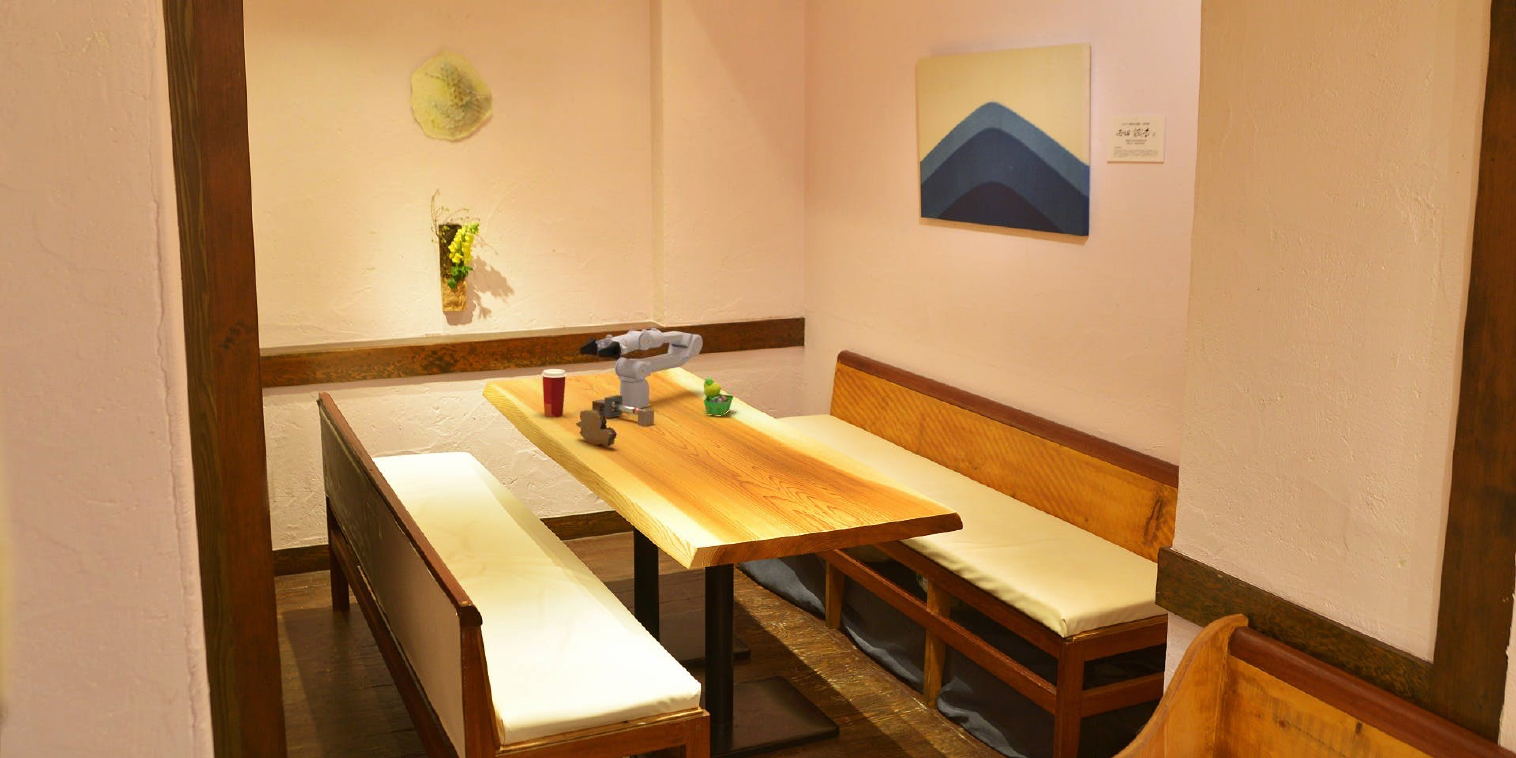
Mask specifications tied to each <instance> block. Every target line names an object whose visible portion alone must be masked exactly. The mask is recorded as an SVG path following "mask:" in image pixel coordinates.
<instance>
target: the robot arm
mask: <svg viewBox="0 0 1516 758" xmlns="http://www.w3.org/2000/svg"><path fill="white" fill-rule="evenodd" d="M703 343H704V342H703V338H702V336H701V335H700V334H697V333H695V334H694V333H693V334H692V333H687V332H682V331H677V330H676V331H675V330H673V331H666V332H662V331H660V330H659V329H657V328H654V327H652V328H651V329H649V330H647V329H642V330H641V331H639V330H632V329H630V330H629V331H628V332H627V333H625V334H622V335H617V336H613V335H612V334H606V336H605V338H602V339H600V340H597V338H596V337H590V338H589V339H588V341H587V342H586V343H585V344H584V345H582V346H580V347H579V354H580V355H590V356H593V357H597V356H598V358H602V359H603V358H604V359H606V358H607V359H609V358H611V359H613V360H616V362H615V367H614V371H615V375H616V376H617V377H618V378H617V379H618V380H619V395H620V396H622V405H625V406H630V407H634V408H635V407H636V408H641V409H644V408H647V407H651V406H652V404H650V384H649V382H648V380H647V379H646V378H648V377H650V376H651V375H652V374H653V373H657V372H661V371H666V370H670V369H676V368H680V367H683V366H684V365H685V364H686V363H688V362H689V360H691V359H692V358H694V357H696V356H699V354H700V352H701V350H702V348H703ZM663 344H669V346H668V350H667V353H664V354H658V355H654V356H649V357H643V358H626V357H621V355H626V354H628V353H630V352H633V351H635V350H641V351H648V350H649V349H653V348H654V349H655V348H660V347H662V345H663Z"/></svg>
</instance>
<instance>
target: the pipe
mask: <svg viewBox="0 0 1516 758" xmlns="http://www.w3.org/2000/svg"><path fill="white" fill-rule="evenodd" d="M591 407H592V409H591V410H597V411H598V412H600V413H601V414H602V415H604V399H597V400H592V406H591ZM612 410H617V411H622V413H623V412H624V413H627V414H632V415H635V416H637V425H638V426H641V427H648V426H652V425H654V424H655V410H653V409H650V408H649V409H648V408H645V409H644V408H636V407H635V408H634V407H630V406H625V405H620V404H615V403H614V402H613V403H612Z"/></svg>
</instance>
